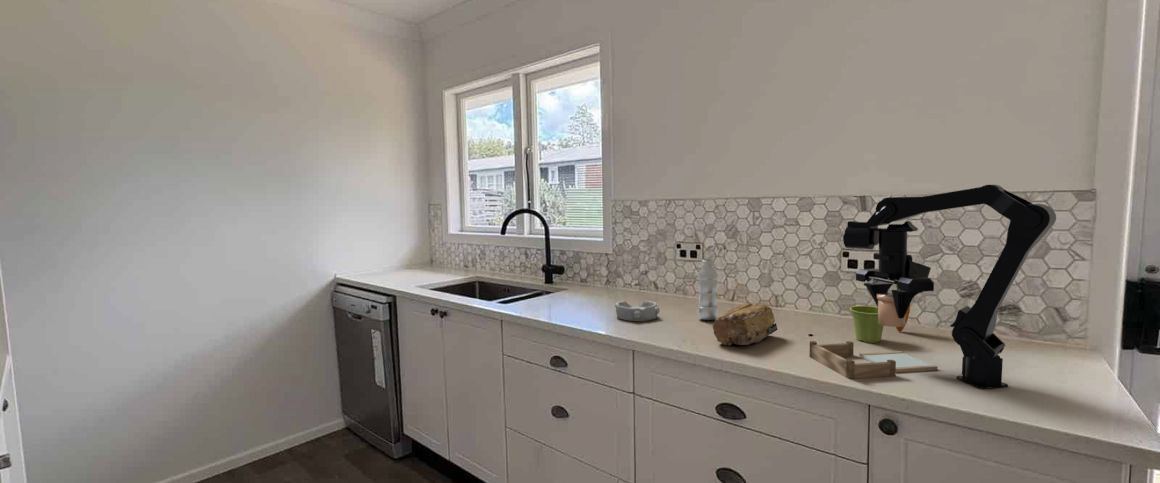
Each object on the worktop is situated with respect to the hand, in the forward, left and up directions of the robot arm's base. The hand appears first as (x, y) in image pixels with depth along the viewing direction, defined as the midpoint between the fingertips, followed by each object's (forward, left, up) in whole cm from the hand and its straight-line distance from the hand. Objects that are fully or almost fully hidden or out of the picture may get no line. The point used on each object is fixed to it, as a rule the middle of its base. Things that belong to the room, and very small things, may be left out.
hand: (891, 315), depth 123 cm
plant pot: (+19, -8, -12) cm, 24 cm away
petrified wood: (+26, +26, -12) cm, 39 cm away
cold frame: (0, +10, -12) cm, 16 cm away
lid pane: (0, -2, -12) cm, 12 cm away
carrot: (+25, -22, -12) cm, 35 cm away
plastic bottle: (+50, +27, -12) cm, 58 cm away
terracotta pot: (0, 0, -2) cm, 2 cm away
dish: (+58, +49, -12) cm, 77 cm away
